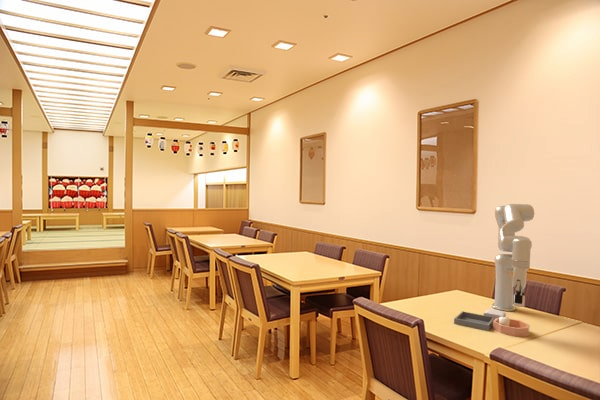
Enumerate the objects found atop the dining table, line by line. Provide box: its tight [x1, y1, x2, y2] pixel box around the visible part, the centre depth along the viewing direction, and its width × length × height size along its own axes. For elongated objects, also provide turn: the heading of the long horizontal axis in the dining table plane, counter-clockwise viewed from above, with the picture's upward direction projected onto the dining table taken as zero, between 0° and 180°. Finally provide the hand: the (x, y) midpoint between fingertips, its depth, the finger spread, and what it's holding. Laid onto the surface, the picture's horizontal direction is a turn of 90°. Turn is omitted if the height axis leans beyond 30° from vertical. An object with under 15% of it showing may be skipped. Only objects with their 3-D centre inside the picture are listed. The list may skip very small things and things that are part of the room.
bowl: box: [492, 318, 530, 337], centre depth 195 cm, size 15×15×4 cm
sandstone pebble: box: [513, 293, 526, 308], centre depth 192 cm, size 5×5×5 cm
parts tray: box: [453, 310, 495, 332], centre depth 204 cm, size 16×16×3 cm
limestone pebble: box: [499, 316, 511, 326], centre depth 196 cm, size 5×5×5 cm
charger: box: [483, 308, 507, 318], centre depth 213 cm, size 5×9×15 cm
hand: (519, 301), depth 192 cm, fingers closed on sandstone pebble, 4 cm apart
